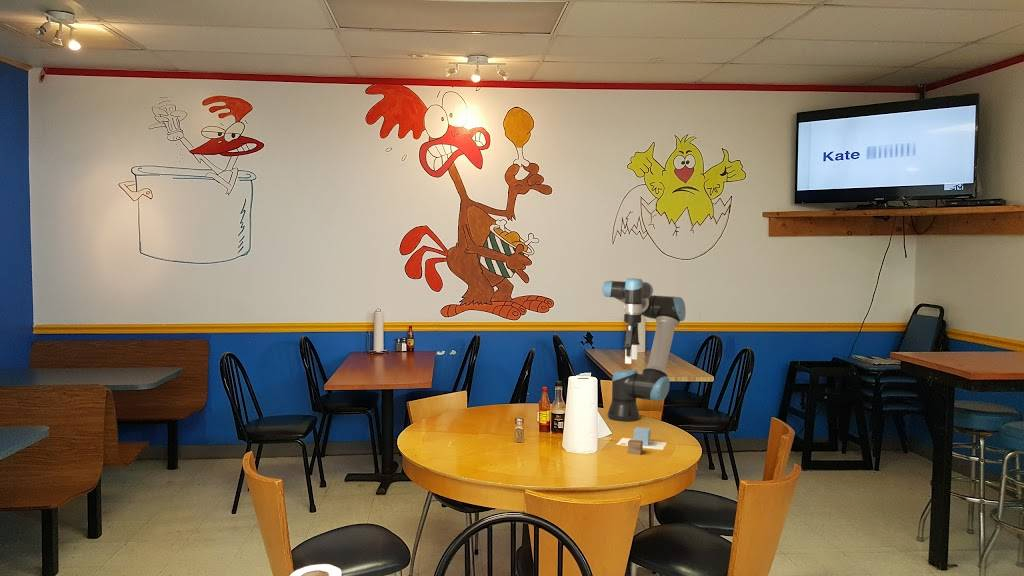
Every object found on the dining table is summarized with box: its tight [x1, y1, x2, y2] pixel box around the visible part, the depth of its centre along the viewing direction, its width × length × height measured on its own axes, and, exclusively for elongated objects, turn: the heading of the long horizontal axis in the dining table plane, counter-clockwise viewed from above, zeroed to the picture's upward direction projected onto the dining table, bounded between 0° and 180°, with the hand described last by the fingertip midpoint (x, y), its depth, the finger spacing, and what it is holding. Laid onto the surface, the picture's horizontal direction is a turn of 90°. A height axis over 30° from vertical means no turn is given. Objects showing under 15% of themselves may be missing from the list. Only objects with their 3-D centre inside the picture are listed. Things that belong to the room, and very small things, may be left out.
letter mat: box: [616, 437, 667, 451], centre depth 316 cm, size 16×22×1 cm
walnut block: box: [627, 438, 644, 456], centre depth 301 cm, size 5×5×5 cm
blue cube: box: [632, 426, 652, 446], centre depth 315 cm, size 6×6×6 cm
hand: (631, 361), depth 334 cm, fingers open, 13 cm apart
